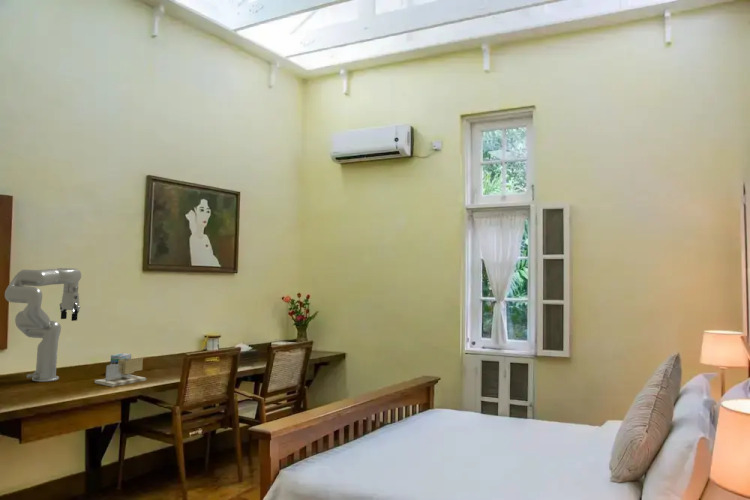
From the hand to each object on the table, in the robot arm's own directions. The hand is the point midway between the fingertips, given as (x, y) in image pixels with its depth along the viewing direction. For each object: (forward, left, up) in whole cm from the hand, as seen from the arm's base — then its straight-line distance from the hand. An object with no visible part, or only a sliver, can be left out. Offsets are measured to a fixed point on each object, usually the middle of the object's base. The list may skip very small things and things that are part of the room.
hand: (68, 319), depth 341 cm
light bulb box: (+20, -21, -31) cm, 42 cm away
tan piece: (+11, -41, -26) cm, 50 cm away
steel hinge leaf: (+2, -41, -29) cm, 50 cm away
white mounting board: (+4, -41, -30) cm, 51 cm away
